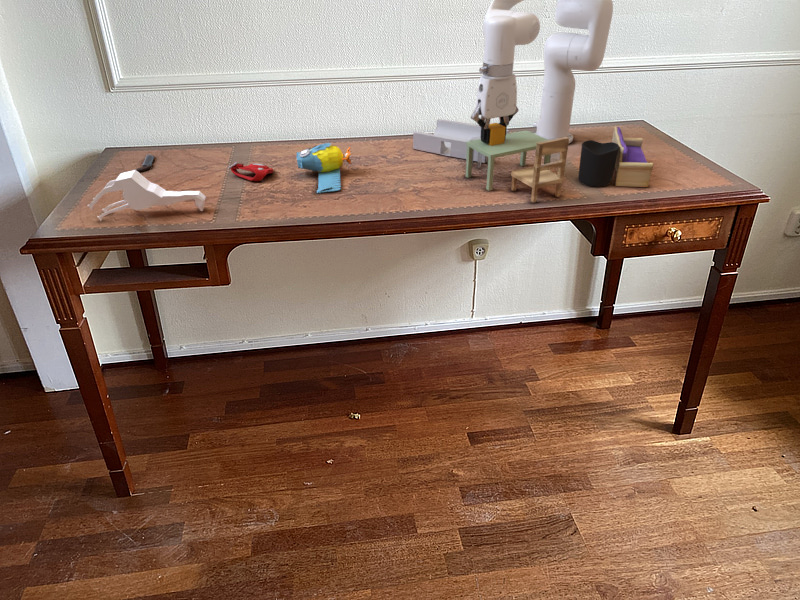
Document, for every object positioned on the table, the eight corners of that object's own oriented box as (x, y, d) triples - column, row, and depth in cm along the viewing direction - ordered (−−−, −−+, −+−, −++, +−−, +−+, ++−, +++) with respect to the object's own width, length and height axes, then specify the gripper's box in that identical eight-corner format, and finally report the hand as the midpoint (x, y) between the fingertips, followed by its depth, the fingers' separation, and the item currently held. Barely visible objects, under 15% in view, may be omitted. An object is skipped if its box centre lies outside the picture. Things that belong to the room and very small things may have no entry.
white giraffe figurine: (124, 251, 153) (210, 210, 150) (80, 197, 144) (170, 153, 141) (129, 242, 158) (212, 202, 154) (86, 189, 149) (174, 146, 146)
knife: (149, 171, 176) (149, 168, 175) (135, 172, 175) (135, 170, 175) (156, 154, 187) (156, 152, 187) (143, 155, 187) (142, 153, 186)
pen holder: (593, 190, 159) (599, 153, 153) (569, 178, 166) (574, 143, 160) (619, 183, 162) (627, 147, 157) (595, 172, 169) (601, 137, 164)
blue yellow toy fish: (351, 159, 156) (292, 164, 155) (353, 190, 161) (297, 195, 160) (348, 126, 180) (297, 130, 179) (351, 154, 184) (301, 158, 184)
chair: (509, 189, 160) (514, 132, 151) (537, 183, 163) (543, 126, 155) (532, 203, 152) (539, 144, 144) (561, 196, 156) (569, 138, 147)
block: (481, 141, 163) (482, 124, 161) (495, 138, 165) (496, 122, 162) (490, 145, 160) (491, 129, 157) (504, 143, 161) (505, 126, 159)
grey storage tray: (508, 147, 188) (510, 121, 183) (478, 169, 173) (479, 141, 168) (438, 134, 199) (438, 109, 195) (404, 154, 184) (404, 127, 180)
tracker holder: (271, 163, 176) (276, 167, 167) (270, 179, 177) (275, 183, 168) (228, 159, 172) (231, 162, 163) (227, 175, 173) (230, 179, 164)
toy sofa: (649, 188, 159) (657, 151, 153) (614, 186, 161) (621, 149, 155) (638, 160, 176) (645, 125, 171) (607, 159, 178) (613, 124, 172)
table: (464, 176, 168) (466, 141, 163) (523, 163, 176) (526, 129, 170) (488, 191, 159) (490, 155, 154) (549, 177, 167) (553, 142, 161)
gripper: (477, 77, 146) (473, 150, 156) (534, 68, 152) (527, 139, 162) (461, 71, 152) (458, 142, 162) (516, 63, 158) (510, 132, 168)
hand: (493, 140), depth 162 cm, fingers closed on block, 4 cm apart
